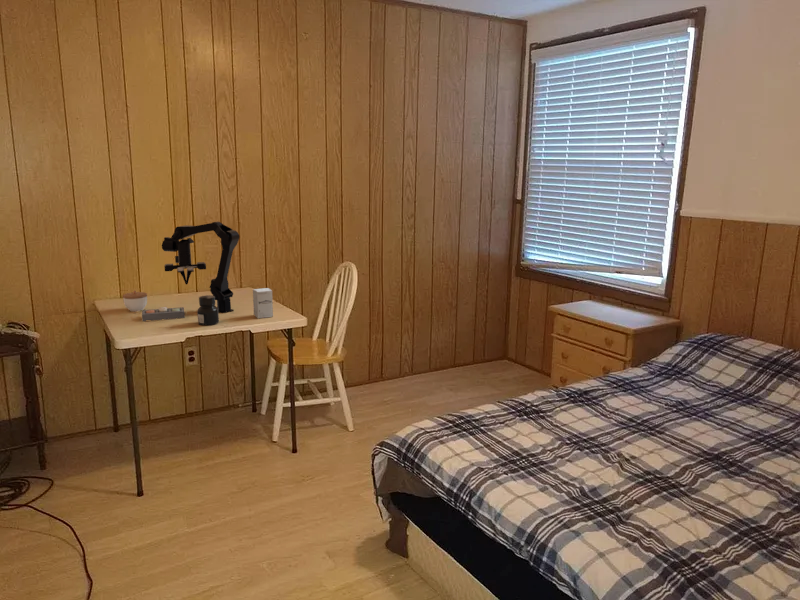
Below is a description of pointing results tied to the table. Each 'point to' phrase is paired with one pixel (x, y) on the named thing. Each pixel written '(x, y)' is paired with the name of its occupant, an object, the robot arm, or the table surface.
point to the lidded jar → (135, 300)
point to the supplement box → (262, 302)
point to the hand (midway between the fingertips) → (186, 284)
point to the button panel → (163, 314)
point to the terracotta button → (150, 311)
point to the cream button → (163, 309)
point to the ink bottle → (207, 311)
